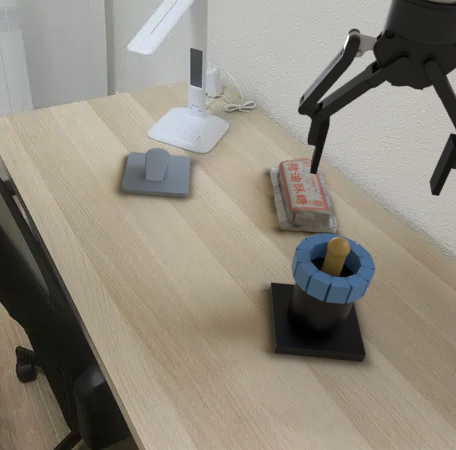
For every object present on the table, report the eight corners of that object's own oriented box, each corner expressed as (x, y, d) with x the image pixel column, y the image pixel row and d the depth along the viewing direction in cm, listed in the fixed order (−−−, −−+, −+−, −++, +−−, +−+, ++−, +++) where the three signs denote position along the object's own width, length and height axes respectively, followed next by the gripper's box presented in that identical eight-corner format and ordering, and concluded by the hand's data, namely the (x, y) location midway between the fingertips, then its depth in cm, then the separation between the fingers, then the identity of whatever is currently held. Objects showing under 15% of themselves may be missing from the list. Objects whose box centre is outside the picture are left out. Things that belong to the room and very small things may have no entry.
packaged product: (344, 213, 92) (284, 210, 92) (337, 235, 95) (279, 231, 95) (324, 153, 105) (272, 150, 106) (319, 174, 109) (268, 171, 109)
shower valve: (118, 176, 97) (129, 132, 108) (118, 201, 100) (129, 155, 112) (189, 182, 96) (192, 137, 107) (186, 206, 100) (190, 160, 111)
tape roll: (360, 252, 77) (366, 236, 75) (375, 307, 69) (382, 290, 67) (288, 246, 78) (292, 230, 76) (295, 299, 70) (300, 283, 68)
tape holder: (348, 296, 84) (380, 213, 74) (362, 361, 75) (401, 278, 64) (269, 289, 85) (289, 206, 74) (274, 353, 76) (298, 268, 65)
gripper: (299, -14, 50) (262, 176, 64) (603, 22, 46) (493, 218, 59) (304, -36, 56) (269, 143, 69) (576, -7, 51) (481, 179, 65)
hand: (372, 178), depth 64 cm, fingers open, 13 cm apart
